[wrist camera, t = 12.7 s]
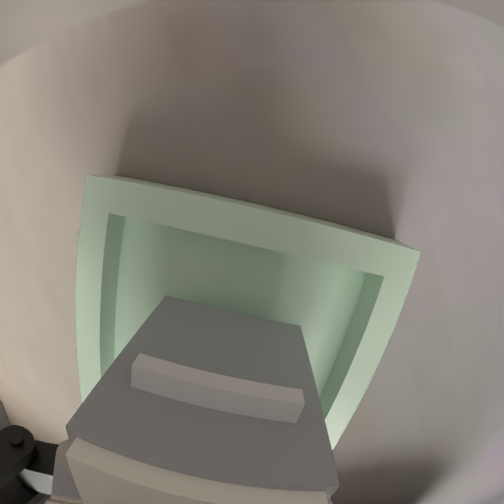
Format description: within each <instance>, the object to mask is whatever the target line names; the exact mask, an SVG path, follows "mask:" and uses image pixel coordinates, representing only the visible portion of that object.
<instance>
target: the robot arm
mask: <svg viewBox="0 0 504 504" xmlns="http://www.w3.org/2000/svg"><path fill="white" fill-rule="evenodd" d="M70 446H71V445H70V441H69V439H68V440H65V441H63V442H62V443H61V444H50V443H45V442H41V441H37V440H34V437H33V435H32V434H31V433H30V431H28V430H27V429H26V428H24V427H21V426H16V425H12V426H8V427H5V428H4V429H2V430H1V431H0V504H37V503H38V502H40V501H41V500H42V499H43V498H44V497H45V496H46V495H47V494H49V495H51V498H50V499H47V500H46V502H45V504H83V502H82V500H81V497H80V495H79V492H78V490H77V487H76V484H75V482H74V479H73V476H72V473H71V470H70V467H69V464H68V461H67V458H66V455H65V454H66V452H67V451H68V449H69V448H70ZM328 504H333V503H332V501H331V500H330V499H329V500H328Z"/></svg>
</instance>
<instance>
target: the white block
mask: <svg viewBox="0 0 504 504" xmlns="http://www.w3.org/2000/svg"><path fill="white" fill-rule="evenodd" d="M66 429H67V433H68V437H69V441H70V445H71V446H70V448H69V449H68V451H67V452H66V454H65V455H66V458H67V461H68V464H69V467H70V470H71V473H72V476H73V479H74V482H75V484H76V487H77V490H78V492H79V495H80V497H81V500H82V502H83V504H328V500H329V499H330V498H331V497H332V496H333V494H334V493H335V492H336V491H337V489H338V488H339V487H340V483H339V478H338V474H337V470H336V465H335V461H334V457H333V452H332V448H331V444H330V440H329V436H328V431H327V427H326V423H325V419H324V415H323V411H322V407H321V403H320V399H319V395H318V391H317V387H316V383H315V379H314V375H313V371H312V367H311V363H310V360H309V356H308V352H307V348H306V344H305V340H304V337H303V333H302V329H301V326H299V325H294V324H289V323H284V322H279V321H274V320H269V319H265V318H260V317H255V316H251V315H246V314H242V313H237V312H233V311H228V310H224V309H220V308H216V307H211V306H207V305H203V304H199V303H195V302H191V301H187V300H183V299H179V298H175V297H171V296H167V295H166V296H165V297H164V298H163V299H162V301H161V302H160V303H159V304H158V306H157V307H156V308H155V309H154V311H153V312H152V313H151V314H150V316H149V317H148V318H147V319H146V321H145V322H144V323H143V324H142V326H141V327H140V328H139V329H138V331H137V332H136V333H135V335H134V336H133V337H132V338H131V340H130V341H129V342H128V343H127V345H126V346H125V347H124V349H123V350H122V351H121V353H120V354H119V355H118V356H117V358H116V359H115V360H114V362H113V363H112V364H111V366H110V367H109V368H108V369H107V371H106V372H105V373H104V375H103V376H102V377H101V379H100V380H99V381H98V383H97V384H96V385H95V387H94V388H93V389H92V391H91V392H90V393H89V395H88V396H87V397H86V399H85V400H84V402H83V403H82V404H81V406H80V407H79V408H78V410H77V411H76V413H75V414H74V415H73V417H72V418H71V419H70V421H69V422H68V424H67V425H66Z"/></svg>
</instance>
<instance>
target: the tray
mask: <svg viewBox="0 0 504 504" xmlns="http://www.w3.org/2000/svg"><path fill="white" fill-rule="evenodd" d="M420 254H421V252H420V251H418V250H416V249H414V248H412V247H410V246H408V245H406V244H403V243H401V242H399V241H397V240H395V239H391V238H388V237H384V236H381V235H377V234H374V233H370V232H366V231H363V230H359V229H355V228H352V227H348V226H344V225H341V224H337V223H333V222H329V221H325V220H321V219H318V218H314V217H310V216H306V215H302V214H298V213H294V212H290V211H286V210H281V209H277V208H273V207H269V206H265V205H260V204H256V203H252V202H247V201H243V200H238V199H234V198H229V197H225V196H220V195H216V194H211V193H206V192H202V191H197V190H192V189H187V188H182V187H177V186H172V185H167V184H162V183H157V182H151V181H146V180H140V179H135V178H129V177H124V176H118V175H87V176H86V182H85V188H84V195H83V202H82V210H81V219H80V228H79V239H78V252H77V270H76V341H77V358H78V370H79V381H80V390H81V398H82V403H83V402H84V400H85V399H86V397H87V396H88V395H89V393H90V392H91V391H92V389H93V388H94V387H95V385H96V384H97V383H98V381H99V380H100V379H101V377H102V376H103V375H104V373H105V372H106V371H107V369H108V368H109V367H110V366H111V364H112V363H113V362H114V360H115V359H116V358H117V356H118V355H119V354H120V353H121V351H122V350H123V349H124V347H125V346H126V345H127V343H128V342H129V341H130V340H131V338H132V337H133V336H134V335H135V333H136V332H137V331H138V329H139V328H140V327H141V326H142V324H143V323H144V322H145V321H146V319H147V318H148V317H149V316H150V314H151V313H152V312H153V311H154V309H155V308H156V307H157V306H158V304H159V303H160V302H161V301H162V299H163V298H164V297H165V296H166V295H167V296H171V297H175V298H179V299H183V300H187V301H191V302H195V303H199V304H203V305H207V306H211V307H216V308H220V309H224V310H228V311H233V312H237V313H242V314H246V315H251V316H255V317H260V318H265V319H269V320H274V321H279V322H284V323H289V324H294V325H299V326H301V329H302V333H303V337H304V340H305V344H306V348H307V352H308V356H309V360H310V363H311V367H312V371H313V375H314V379H315V383H316V387H317V391H318V395H319V399H320V403H321V407H322V411H323V415H324V419H325V423H326V427H327V431H328V436H329V440H330V444H331V448H332V450H333V449H334V447H335V445H336V444H337V442H338V440H339V439H340V437H341V435H342V434H343V432H344V430H345V428H346V427H347V425H348V423H349V421H350V420H351V418H352V416H353V414H354V412H355V410H356V409H357V407H358V405H359V403H360V401H361V399H362V397H363V395H364V393H365V391H366V389H367V387H368V385H369V383H370V381H371V379H372V377H373V375H374V373H375V371H376V369H377V367H378V365H379V362H380V360H381V358H382V356H383V353H384V351H385V349H386V347H387V344H388V342H389V340H390V337H391V335H392V332H393V330H394V328H395V325H396V323H397V320H398V318H399V315H400V312H401V310H402V307H403V304H404V302H405V299H406V296H407V293H408V291H409V288H410V285H411V282H412V279H413V276H414V273H415V270H416V267H417V263H418V260H419V257H420Z"/></svg>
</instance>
